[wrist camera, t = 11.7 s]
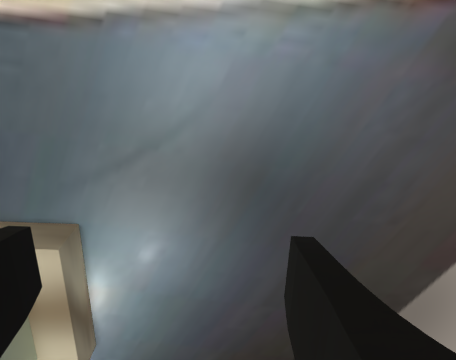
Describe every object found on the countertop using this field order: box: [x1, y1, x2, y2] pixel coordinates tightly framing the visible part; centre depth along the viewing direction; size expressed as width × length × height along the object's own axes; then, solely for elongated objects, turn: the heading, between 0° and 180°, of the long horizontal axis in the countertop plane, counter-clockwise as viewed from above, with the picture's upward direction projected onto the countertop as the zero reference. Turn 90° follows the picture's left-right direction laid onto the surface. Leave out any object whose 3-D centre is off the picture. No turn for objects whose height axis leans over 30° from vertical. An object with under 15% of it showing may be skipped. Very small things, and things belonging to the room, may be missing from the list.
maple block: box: [0, 222, 96, 360], centre depth 22 cm, size 9×9×3 cm
